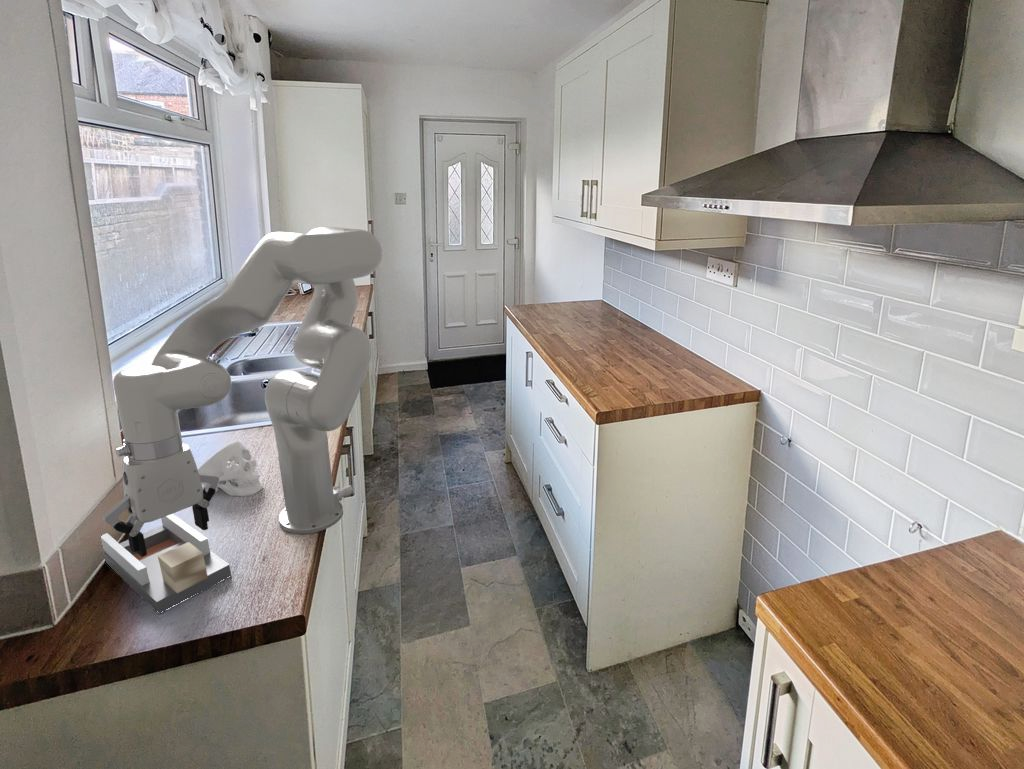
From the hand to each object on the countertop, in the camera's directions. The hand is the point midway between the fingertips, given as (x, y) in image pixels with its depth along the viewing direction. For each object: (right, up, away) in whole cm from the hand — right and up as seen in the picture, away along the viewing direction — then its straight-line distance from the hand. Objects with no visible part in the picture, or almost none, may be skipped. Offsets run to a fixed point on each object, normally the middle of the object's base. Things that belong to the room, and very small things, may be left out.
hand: (172, 539), depth 96 cm
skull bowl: (-8, +2, +36) cm, 37 cm away
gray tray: (-6, -7, +8) cm, 12 cm away
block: (+1, -7, +2) cm, 7 cm away
